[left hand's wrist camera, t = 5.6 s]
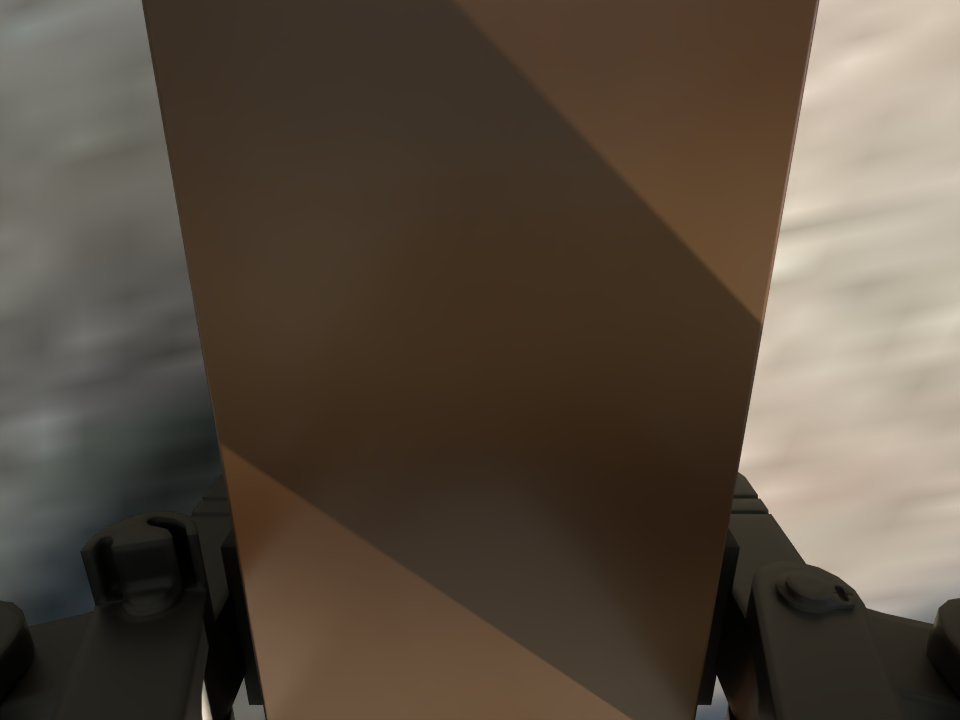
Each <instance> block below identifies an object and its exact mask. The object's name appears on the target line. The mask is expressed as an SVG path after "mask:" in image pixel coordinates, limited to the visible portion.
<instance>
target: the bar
mask: <svg viewBox="0 0 960 720" xmlns="http://www.w3.org/2000/svg"><path fill="white" fill-rule="evenodd" d="M142 5H143V10H144V16H145V22H146V28H147V34H148V39H149V45H150V51H151V57H152V63H153V68H154V74H155V80H156V86H157V92H158V97H159V103H160V109H161V115H162V121H163V126H164V132H165V138H166V144H167V150H168V155H169V161H170V167H171V173H172V179H173V185H174V190H175V196H176V202H177V208H178V214H179V219H180V225H181V231H182V237H183V243H184V248H185V254H186V260H187V266H188V272H189V277H190V283H191V289H192V295H193V301H194V306H195V312H196V318H197V324H198V330H199V335H200V341H201V347H202V353H203V359H204V364H205V370H206V376H207V382H208V388H209V393H210V399H211V405H212V411H213V417H214V422H215V428H216V434H217V440H218V446H219V452H220V457H221V463H222V469H223V475H224V481H225V486H226V492H227V498H228V504H229V510H230V515H231V521H232V527H233V533H234V539H235V544H236V550H237V556H238V562H239V568H240V573H241V579H242V585H243V591H244V597H245V602H246V608H247V614H248V620H249V626H250V631H251V637H252V643H253V649H254V655H255V660H256V666H257V672H258V678H259V684H260V690H261V695H262V701H263V707H264V713H265V719H266V720H695V717H696V711H697V705H698V699H699V694H700V688H701V682H702V676H703V670H704V665H705V659H706V653H707V647H708V642H709V636H710V630H711V624H712V618H713V613H714V607H715V601H716V595H717V589H718V584H719V578H720V572H721V566H722V561H723V555H724V549H725V543H726V537H727V532H728V526H729V520H730V514H731V509H732V503H733V497H734V491H735V485H736V480H737V474H738V468H739V462H740V456H741V451H742V445H743V439H744V433H745V428H746V422H747V416H748V410H749V404H750V399H751V393H752V387H753V381H754V376H755V370H756V364H757V358H758V352H759V347H760V341H761V335H762V329H763V323H764V318H765V312H766V306H767V300H768V295H769V289H770V283H771V277H772V271H773V266H774V260H775V254H776V248H777V243H778V237H779V231H780V225H781V219H782V214H783V208H784V202H785V196H786V190H787V185H788V179H789V173H790V167H791V162H792V156H793V150H794V144H795V138H796V133H797V127H798V121H799V115H800V110H801V104H802V98H803V92H804V86H805V81H806V75H807V69H808V63H809V57H810V52H811V46H812V40H813V34H814V29H815V23H816V17H817V11H818V5H819V0H142Z"/></svg>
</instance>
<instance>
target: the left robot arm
mask: <svg viewBox="0 0 960 720" xmlns="http://www.w3.org/2000/svg"><path fill="white" fill-rule="evenodd" d="M80 552H81V555H82V559H83V562H84V566H85V569H86V573H87V576H88V580H89V583H90V587H91V590H92V594H93V598H94V601H95V605H96V606H95V608H94V611H92V612H89V613H85V614H82V615H78V616H74V617H70V618H65V619H61V620H56V621H52V622H47V623H43V624H38V625H34V626H29V627H28V625H27V622H26V619H25V617H24V614H23V611H22V610H21V609H20V608H19V607H17V606H16V605H15V604H14V603H12V602H5V601H0V720H235V718H234V712H233V707H232V705H233V703H234V700H235V698H236V695H237V693H238V690H239V688H240V686H241V683H242V681H243V678H244V679H245V684H246V690H247V695H248V700H249V705H263V701H262V695H261V690H260V684H259V678H258V672H257V666H256V660H255V655H254V649H253V643H252V637H251V631H250V626H249V620H248V614H247V608H246V602H245V597H244V591H243V585H242V579H241V573H240V568H239V562H238V556H237V550H236V544H235V539H234V533H233V527H232V521H231V515H230V510H229V504H228V498H227V492H226V486H225V481H224V475H223V474H222V475H221V476H219V477H218V478H216V479H215V481H214V482H213V484H212V485H211V486H210V488H209V489H208V491H207V492H206V494H205V495H204V497H203V501H200V502H199V504H198V505H197V507H196V508H195V509H194V511H193V512H192V516H190V517H189V516H187V515H185V514H180V513H176V512H172V511H163V512H149V513H144V514H140V515H136V516H131V517H128V518H126V519H124V520H121V521H119V522H117V523H114V524H112V525H110V526H108V527H106V528H105V529H103V530H102V531H100V532H99V533H98V534H96V535H95V536H93V537H92V538H91V539H90V540H89V541H88V543H87V544H86V545H85V546H84V548H83V549H82V550H81V551H80ZM716 675H717V676H718V679H719V681H720V684H721V686H722V689H723V691H724V694H725V696H726V698H727V701H728V707H727V712H726V717H725V720H960V598H958V599H952V600H948V601H947V602H946V603H944V604H943V605H942V606H941V607H940V608H939V609H938V612H937V615H936V618H935V621H934V624H930V623H925V622H921V621H916V620H912V619H907V618H903V617H898V616H894V615H889V614H885V613H881V612H878V611H874V610H871V609H867V608H866V607H865V604H864V603H863V602H862V600H861V599H860V597H859V596H858V594H857V593H856V591H855V590H854V589H853V588H851V587H850V586H849V585H848V584H846V583H845V582H844V581H843V580H841V579H840V578H839V577H837V576H835V575H833V574H831V573H829V572H827V571H825V570H823V569H821V568H819V567H815V566H811V565H808V564H806V563H805V562H804V560H803V559H802V557H801V556H800V555H799V553H798V552H797V550H796V549H795V547H794V546H793V545H792V543H791V542H790V540H789V539H788V537H787V536H786V535H785V533H784V532H783V530H782V529H781V527H780V526H779V525H778V523H777V522H776V520H775V519H774V518H773V516H772V515H771V514H769V513H768V509H767V508H766V506H765V505H764V503H763V502H762V500H761V499H758V495H757V493H756V492H755V490H754V489H753V488H752V486H751V485H750V483H749V482H748V480H747V479H746V478H745V477H744V476H743V475H742V474H740V473H739V472H738V474H737V480H736V485H735V491H734V497H733V503H732V509H731V514H730V520H729V526H728V532H727V537H726V543H725V549H724V555H723V561H722V566H721V572H720V578H719V584H718V589H717V595H716V601H715V607H714V613H713V618H712V624H711V630H710V636H709V642H708V647H707V653H706V659H705V665H704V670H703V676H702V682H701V688H700V694H699V699H698V705H711V703H712V697H713V692H714V686H715V681H716Z"/></svg>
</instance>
